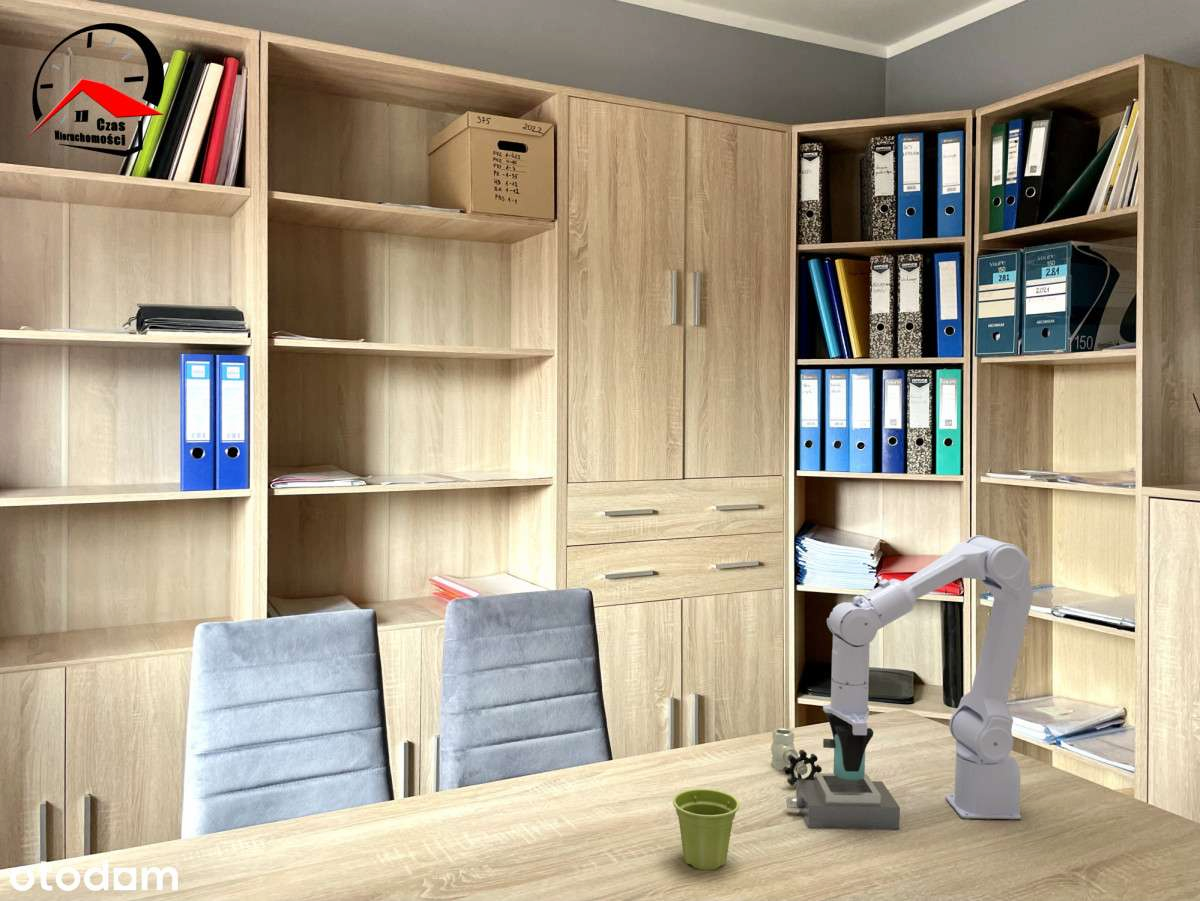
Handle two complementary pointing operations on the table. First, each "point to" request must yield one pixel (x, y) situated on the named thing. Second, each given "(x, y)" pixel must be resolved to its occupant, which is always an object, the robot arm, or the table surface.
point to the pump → (838, 761)
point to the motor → (845, 803)
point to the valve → (791, 757)
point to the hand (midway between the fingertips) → (847, 764)
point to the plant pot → (705, 826)
